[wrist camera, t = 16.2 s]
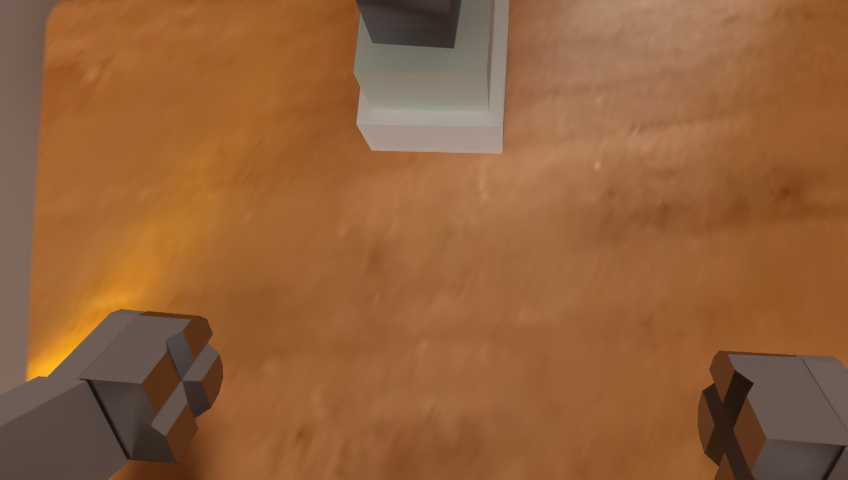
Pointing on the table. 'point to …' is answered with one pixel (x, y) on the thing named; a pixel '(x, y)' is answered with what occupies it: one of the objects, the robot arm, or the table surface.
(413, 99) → the tower top
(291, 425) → the table surface
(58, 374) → the robot arm
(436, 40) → the charcoal block
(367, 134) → the tower base
